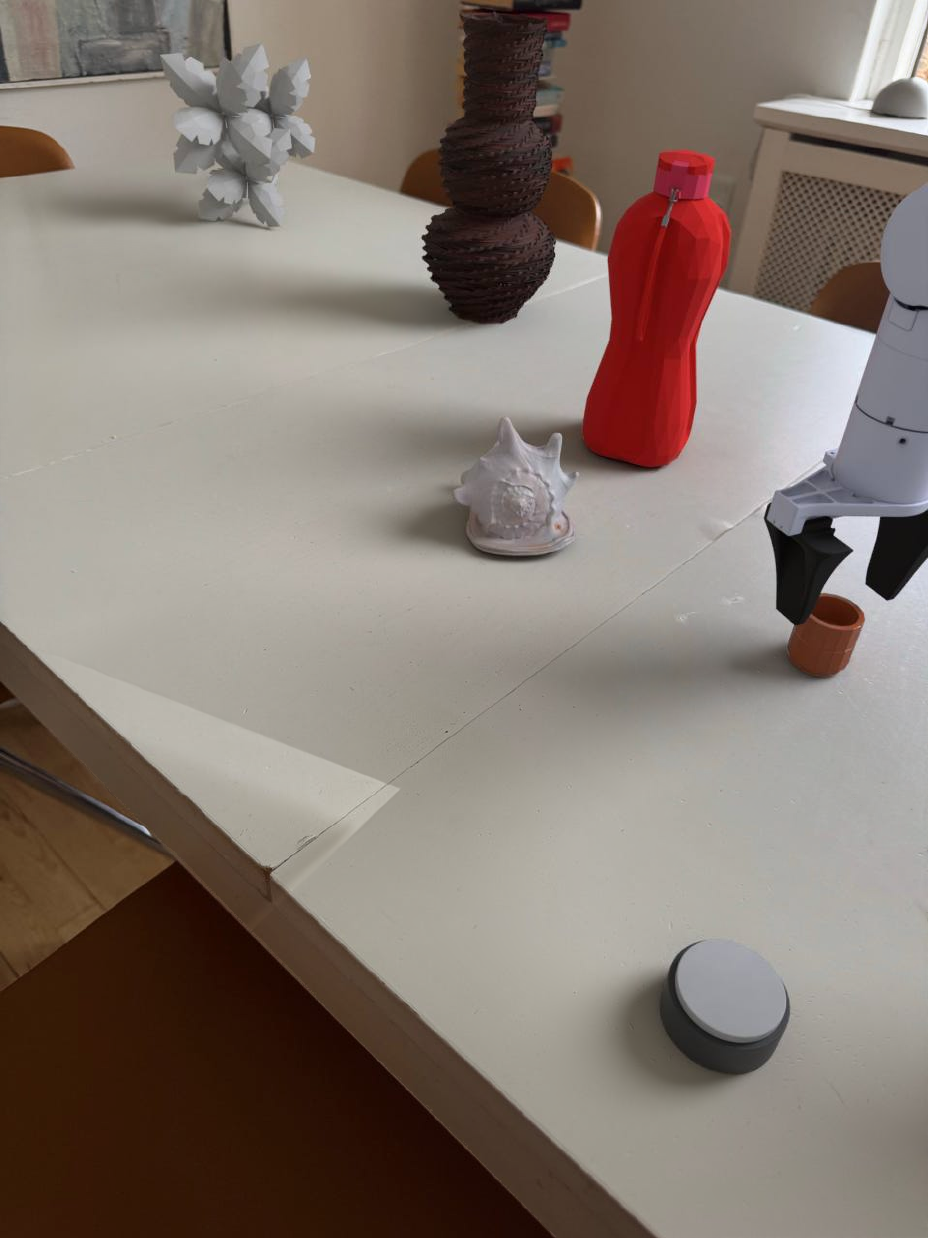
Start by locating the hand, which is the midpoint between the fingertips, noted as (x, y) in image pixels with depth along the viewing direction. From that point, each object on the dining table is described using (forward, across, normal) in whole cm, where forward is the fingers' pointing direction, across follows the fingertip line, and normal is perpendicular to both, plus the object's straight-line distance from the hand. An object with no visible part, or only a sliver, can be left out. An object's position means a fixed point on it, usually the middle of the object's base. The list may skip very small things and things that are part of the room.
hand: (835, 603), depth 63 cm
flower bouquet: (+5, +9, -116) cm, 116 cm away
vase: (+5, -7, -66) cm, 67 cm away
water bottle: (+5, -5, -30) cm, 31 cm away
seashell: (+5, +12, -23) cm, 27 cm away
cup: (+5, 0, 0) cm, 5 cm away
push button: (+5, +22, +19) cm, 30 cm away
